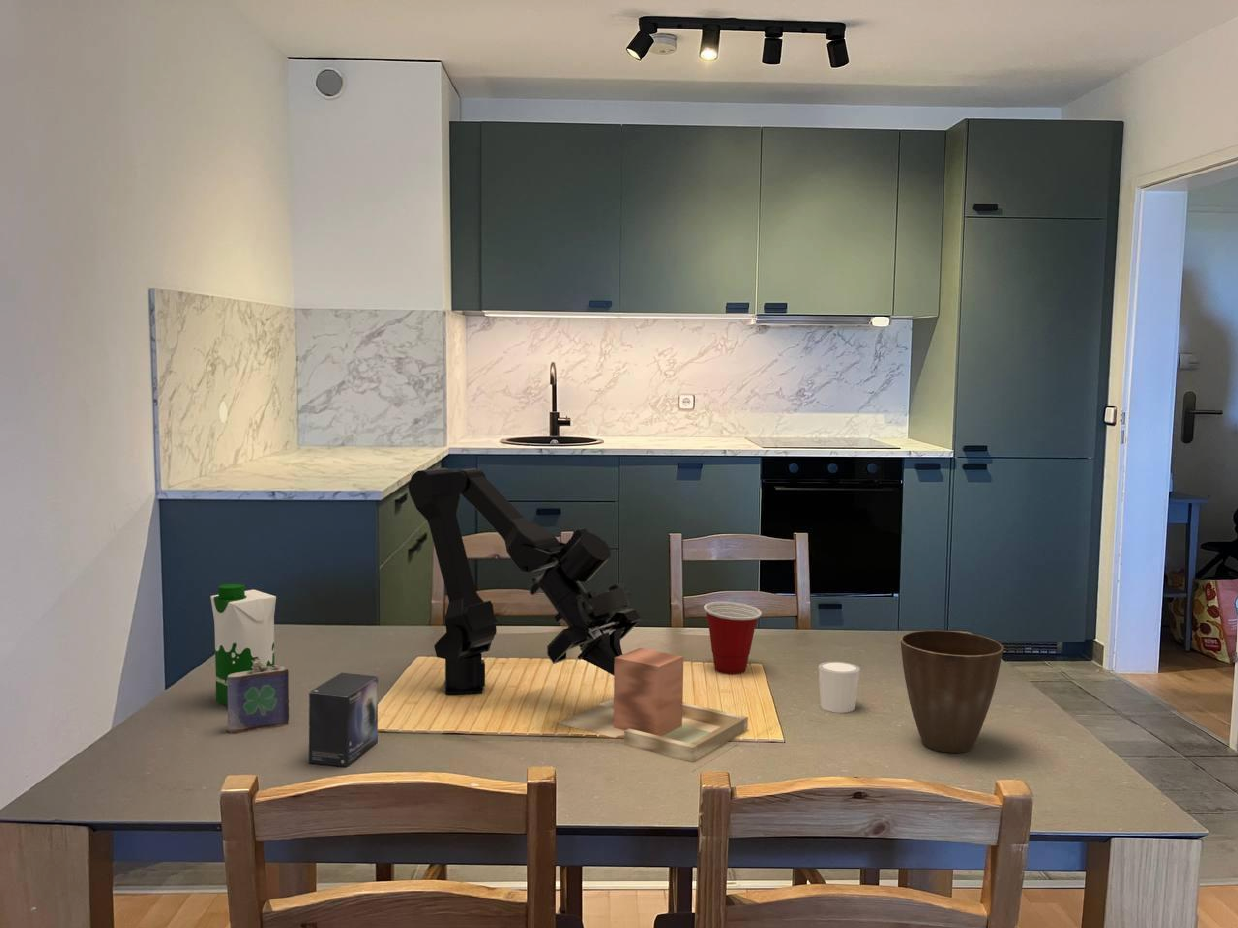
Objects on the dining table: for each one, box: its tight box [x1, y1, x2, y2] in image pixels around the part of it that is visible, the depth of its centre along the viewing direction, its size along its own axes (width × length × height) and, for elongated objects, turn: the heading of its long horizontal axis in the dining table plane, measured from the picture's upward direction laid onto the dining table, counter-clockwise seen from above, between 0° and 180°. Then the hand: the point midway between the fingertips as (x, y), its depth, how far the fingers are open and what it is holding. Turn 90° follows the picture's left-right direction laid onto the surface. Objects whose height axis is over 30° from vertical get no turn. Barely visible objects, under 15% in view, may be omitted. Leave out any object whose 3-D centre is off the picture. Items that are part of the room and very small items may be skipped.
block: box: [613, 647, 684, 737], centre depth 164 cm, size 8×7×11 cm
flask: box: [227, 658, 290, 734], centre depth 166 cm, size 9×3×11 cm, turn 121°
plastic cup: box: [703, 601, 763, 675], centre depth 199 cm, size 11×11×12 cm
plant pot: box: [900, 630, 1005, 754], centre depth 162 cm, size 15×15×16 cm
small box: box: [307, 672, 379, 767], centre depth 155 cm, size 11×6×10 cm, turn 168°
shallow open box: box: [556, 699, 749, 772], centre depth 164 cm, size 25×16×4 cm, turn 55°
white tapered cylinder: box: [818, 661, 861, 714], centre depth 179 cm, size 7×7×7 cm
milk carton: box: [209, 582, 277, 708], centre depth 177 cm, size 9×9×20 cm
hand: (625, 678), depth 166 cm, fingers closed
